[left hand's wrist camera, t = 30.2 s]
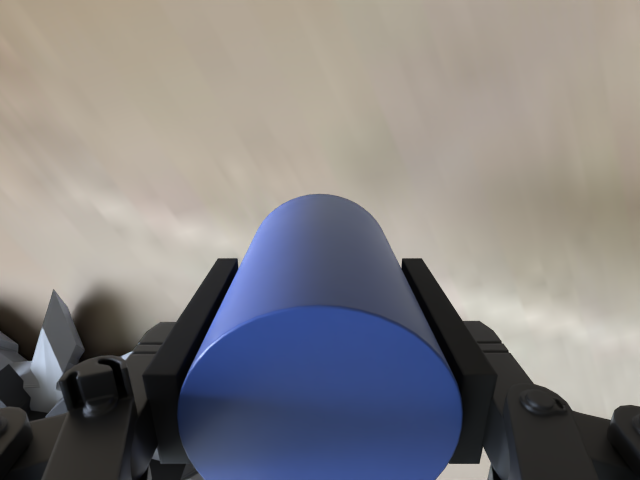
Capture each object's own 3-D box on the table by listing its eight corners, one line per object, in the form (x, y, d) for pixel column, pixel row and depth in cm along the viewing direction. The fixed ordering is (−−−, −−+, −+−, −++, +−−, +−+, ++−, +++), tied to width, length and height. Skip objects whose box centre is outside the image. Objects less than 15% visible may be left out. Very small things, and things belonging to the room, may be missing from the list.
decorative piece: (230, 636, 32) (-137, 597, 30) (239, 581, 36) (-87, 543, 34) (285, 353, 22) (-270, 264, 20) (290, 317, 25) (-177, 239, 23)
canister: (416, 236, 17) (524, 387, 8) (344, 340, 19) (366, 554, 10) (290, 166, 16) (253, 250, 7) (228, 284, 17) (135, 470, 9)
